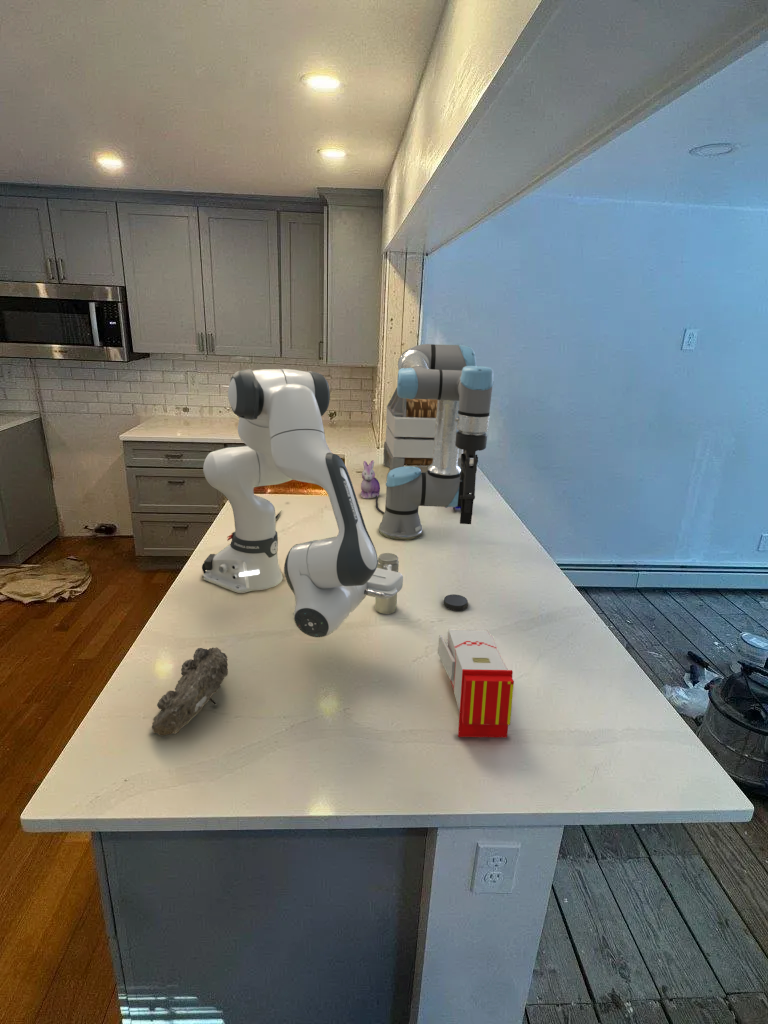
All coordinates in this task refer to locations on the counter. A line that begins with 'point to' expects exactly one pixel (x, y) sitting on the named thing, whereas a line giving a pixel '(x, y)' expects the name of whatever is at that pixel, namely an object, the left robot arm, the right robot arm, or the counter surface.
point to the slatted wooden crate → (410, 432)
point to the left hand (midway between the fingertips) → (369, 563)
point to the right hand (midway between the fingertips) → (463, 514)
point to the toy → (478, 682)
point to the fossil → (191, 690)
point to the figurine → (369, 482)
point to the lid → (455, 602)
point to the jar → (390, 604)
